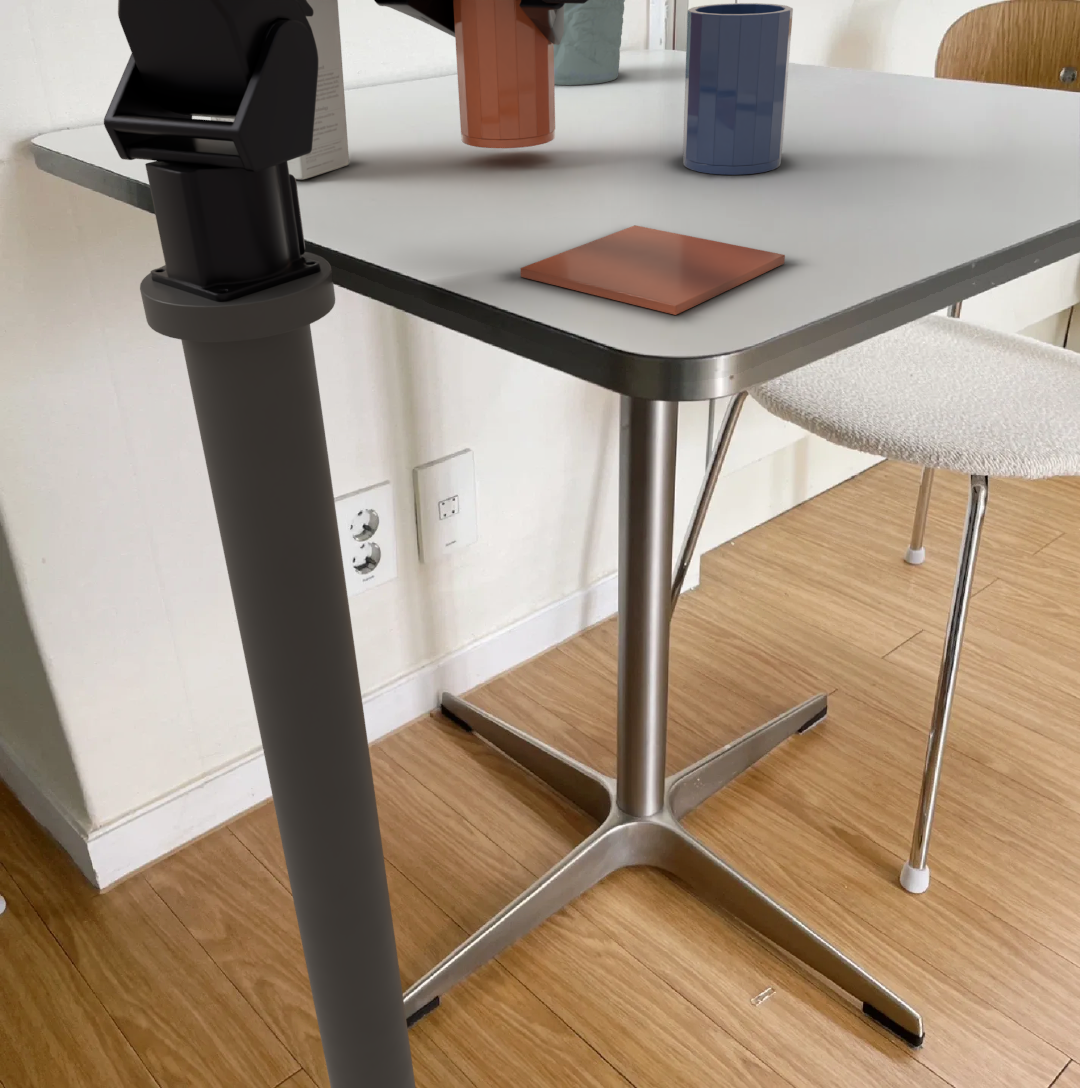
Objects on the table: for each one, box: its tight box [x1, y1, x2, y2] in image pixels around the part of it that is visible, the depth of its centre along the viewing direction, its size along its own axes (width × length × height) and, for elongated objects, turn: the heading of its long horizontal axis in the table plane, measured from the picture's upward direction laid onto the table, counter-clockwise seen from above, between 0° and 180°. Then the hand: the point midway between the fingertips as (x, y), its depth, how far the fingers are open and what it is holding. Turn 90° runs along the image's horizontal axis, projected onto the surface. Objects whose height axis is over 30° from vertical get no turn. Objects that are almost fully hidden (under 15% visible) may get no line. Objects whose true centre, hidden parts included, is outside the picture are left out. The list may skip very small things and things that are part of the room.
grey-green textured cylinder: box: [554, 0, 626, 86], centre depth 112 cm, size 10×10×12 cm
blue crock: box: [682, 2, 794, 176], centre depth 79 cm, size 7×7×10 cm
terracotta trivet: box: [519, 225, 786, 316], centre depth 61 cm, size 10×10×1 cm
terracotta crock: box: [453, 0, 556, 149], centre depth 81 cm, size 7×7×10 cm
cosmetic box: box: [210, 0, 350, 180], centre depth 80 cm, size 8×6×15 cm
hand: (513, 37), depth 81 cm, fingers closed on terracotta crock, 7 cm apart
